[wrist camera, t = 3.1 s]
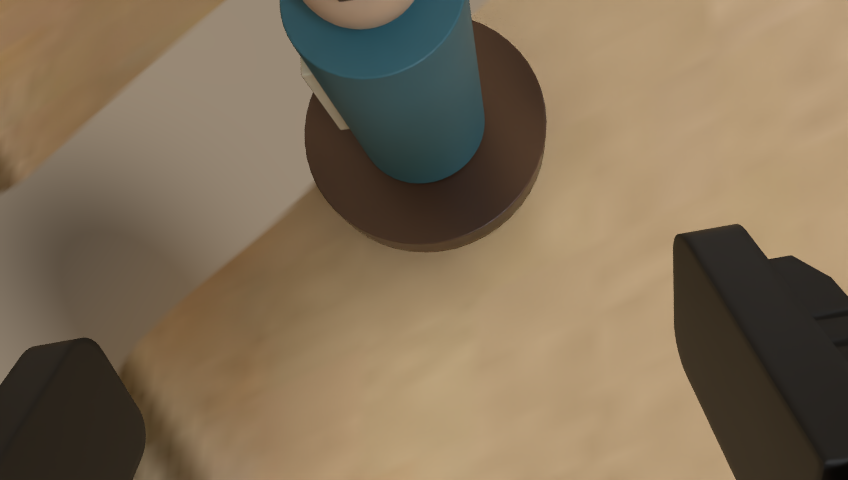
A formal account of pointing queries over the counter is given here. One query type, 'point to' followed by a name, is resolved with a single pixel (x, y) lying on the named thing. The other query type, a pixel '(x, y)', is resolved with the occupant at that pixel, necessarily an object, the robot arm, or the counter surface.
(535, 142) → the stand
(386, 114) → the teal pump bottle
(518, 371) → the counter surface
